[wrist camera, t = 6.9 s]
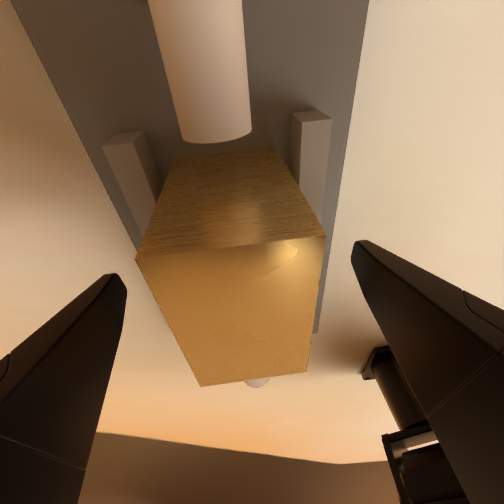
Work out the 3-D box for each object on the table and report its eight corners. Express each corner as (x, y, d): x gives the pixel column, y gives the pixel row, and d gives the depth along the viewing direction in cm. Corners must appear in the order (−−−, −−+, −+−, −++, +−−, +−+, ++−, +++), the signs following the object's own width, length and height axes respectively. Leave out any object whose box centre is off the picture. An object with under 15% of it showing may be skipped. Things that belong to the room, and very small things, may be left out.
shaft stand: (311, 316, 20) (332, 376, 16) (189, 333, 20) (182, 398, 16) (376, -224, 6) (633, -664, 2) (-47, -187, 6) (-535, -620, 2)
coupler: (174, 158, 10) (134, 259, 5) (275, 146, 10) (326, 234, 5) (206, 273, 14) (200, 386, 9) (277, 264, 14) (306, 371, 9)
